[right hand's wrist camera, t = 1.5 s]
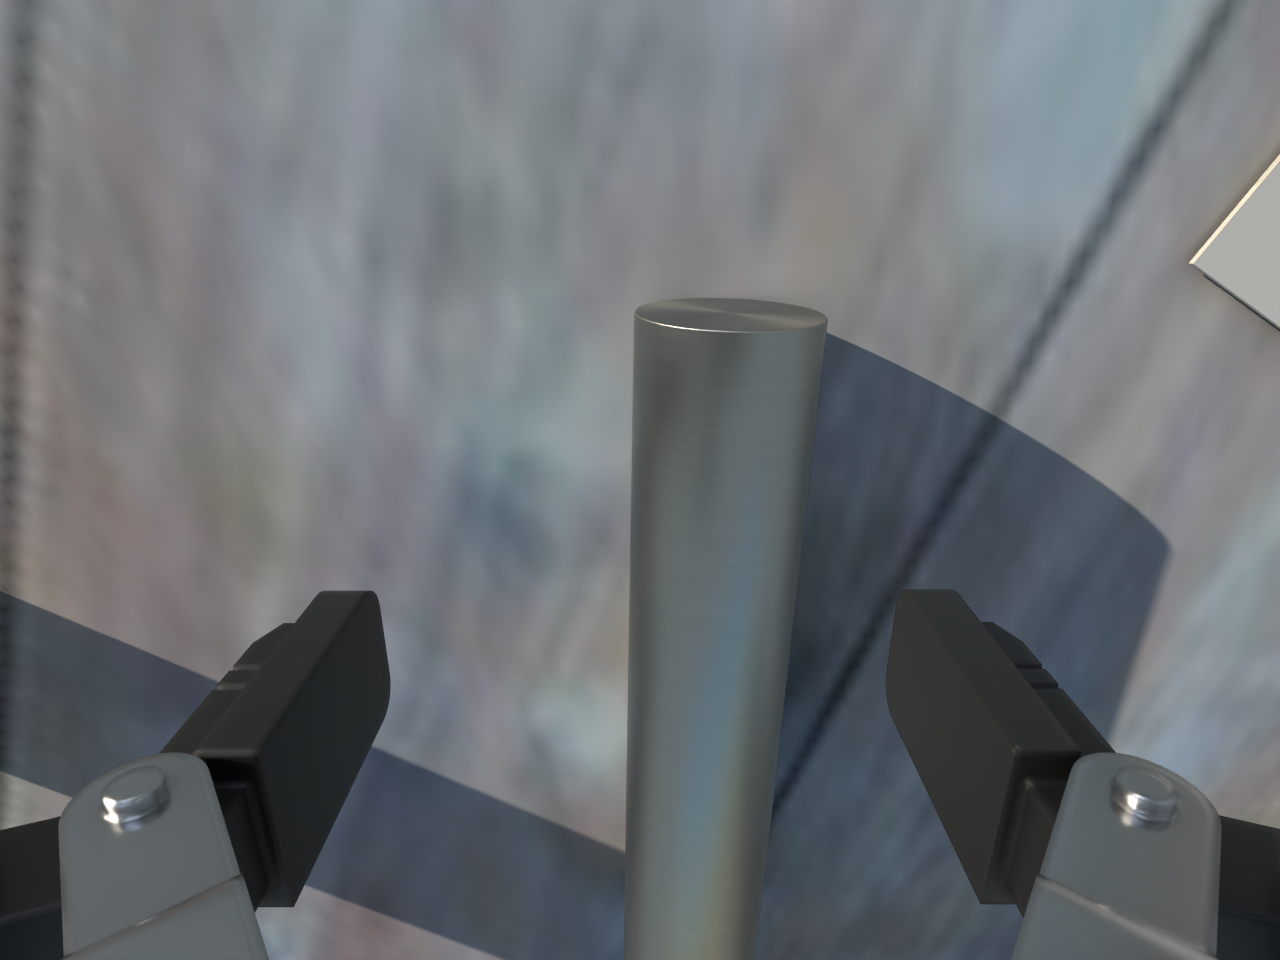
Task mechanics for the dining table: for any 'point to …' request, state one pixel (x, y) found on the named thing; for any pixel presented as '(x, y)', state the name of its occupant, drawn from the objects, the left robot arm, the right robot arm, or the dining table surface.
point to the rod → (711, 609)
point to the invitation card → (1249, 248)
